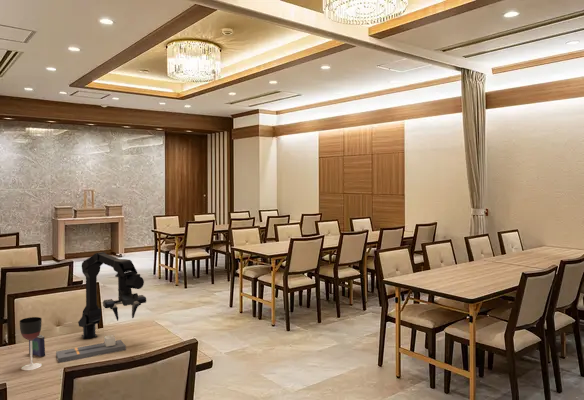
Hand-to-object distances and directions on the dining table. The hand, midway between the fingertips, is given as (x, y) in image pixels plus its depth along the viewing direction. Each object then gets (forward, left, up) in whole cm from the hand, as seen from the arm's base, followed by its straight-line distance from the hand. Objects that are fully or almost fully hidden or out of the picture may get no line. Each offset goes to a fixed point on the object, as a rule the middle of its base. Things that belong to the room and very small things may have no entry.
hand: (125, 319), depth 215 cm
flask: (-11, -36, -13) cm, 40 cm away
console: (0, -15, -13) cm, 20 cm away
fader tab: (0, -7, -11) cm, 13 cm away
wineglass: (+3, -39, -13) cm, 41 cm away
